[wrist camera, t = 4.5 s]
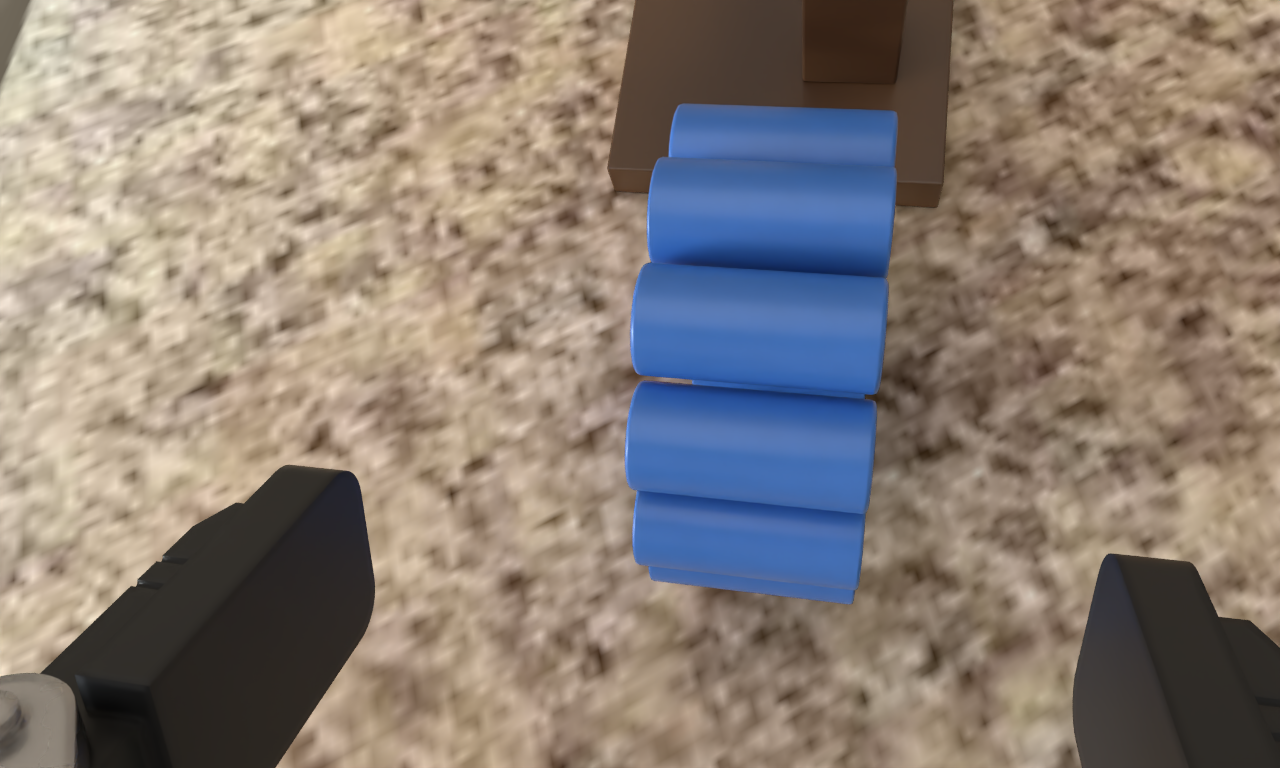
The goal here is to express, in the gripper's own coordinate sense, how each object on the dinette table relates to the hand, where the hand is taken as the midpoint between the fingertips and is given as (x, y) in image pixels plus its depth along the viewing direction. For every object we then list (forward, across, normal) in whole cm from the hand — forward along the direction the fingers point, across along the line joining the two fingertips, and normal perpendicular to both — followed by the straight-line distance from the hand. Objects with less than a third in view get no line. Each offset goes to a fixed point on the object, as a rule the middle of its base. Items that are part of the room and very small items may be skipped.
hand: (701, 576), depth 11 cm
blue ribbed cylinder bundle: (+13, 0, +5) cm, 14 cm away
